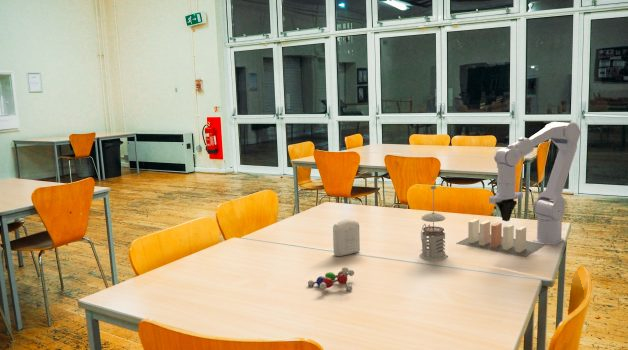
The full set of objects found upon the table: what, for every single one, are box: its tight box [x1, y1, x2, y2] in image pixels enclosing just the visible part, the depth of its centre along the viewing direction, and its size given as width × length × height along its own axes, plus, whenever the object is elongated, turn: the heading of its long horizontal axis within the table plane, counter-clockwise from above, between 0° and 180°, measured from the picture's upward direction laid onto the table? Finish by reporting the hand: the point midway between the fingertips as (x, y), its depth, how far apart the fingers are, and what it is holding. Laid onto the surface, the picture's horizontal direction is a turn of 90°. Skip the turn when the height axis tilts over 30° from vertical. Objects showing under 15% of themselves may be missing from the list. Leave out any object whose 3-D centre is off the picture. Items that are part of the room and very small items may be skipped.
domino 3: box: [502, 223, 515, 250], centre depth 180 cm, size 5×2×8 cm, turn 135°
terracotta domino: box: [490, 222, 503, 248], centre depth 183 cm, size 5×2×8 cm, turn 136°
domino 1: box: [467, 218, 480, 243], centre depth 189 cm, size 5×2×8 cm, turn 135°
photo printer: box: [332, 219, 361, 257], centre depth 183 cm, size 10×4×12 cm, turn 123°
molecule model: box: [307, 266, 355, 292], centre depth 154 cm, size 15×7×14 cm
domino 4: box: [514, 225, 527, 252], centre depth 177 cm, size 5×2×8 cm, turn 135°
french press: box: [419, 185, 449, 262], centre depth 174 cm, size 10×12×25 cm
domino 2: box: [479, 220, 491, 246], centre depth 186 cm, size 5×2×8 cm, turn 135°
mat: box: [456, 232, 548, 258], centre depth 186 cm, size 18×26×1 cm
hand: (505, 220), depth 180 cm, fingers closed
